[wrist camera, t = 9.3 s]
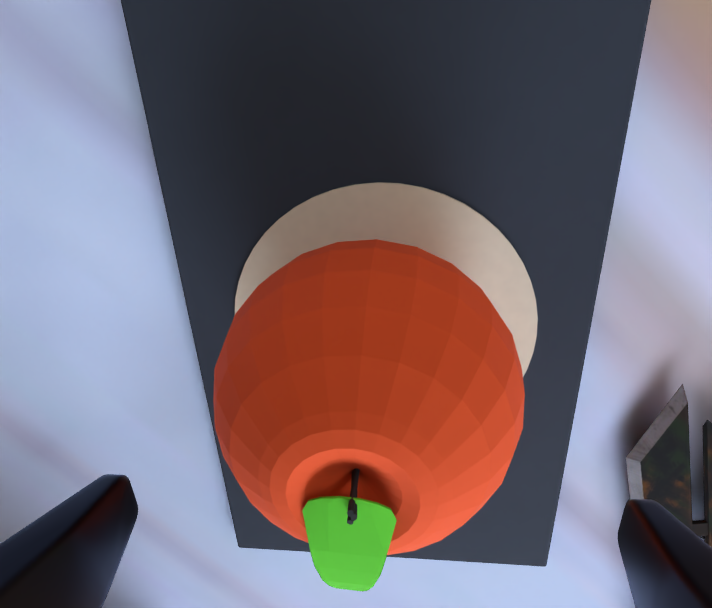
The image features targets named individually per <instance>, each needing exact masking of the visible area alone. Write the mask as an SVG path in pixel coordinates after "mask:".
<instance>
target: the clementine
mask: <svg viewBox="0 0 712 608" xmlns="http://www.w3.org/2000/svg"><path fill="white" fill-rule="evenodd" d="M524 399H525V392H524V383H523V374H522V367H521V364H520V360H519V357H518V353H517V350H516V346H515V342H514V339H513V335H512V333H511V332H510V330H509V329H508V327H507V326H506V324H505V323H504V321H503V320H502V318H501V317H500V315H499V314H498V312H497V311H496V309H495V308H494V306H493V304H492V303H491V301H490V300H489V299H488V297H487V296H486V294H485V293H484V292H483V290H482V289H481V288H480V287H479V286H478V285H477V284H476V283H475V282H473V281H472V280H471V279H470V278H469V277H467V276H466V275H465V274H464V273H463V272H462V271H460V270H459V269H458V268H457V267H456V266H454V265H453V264H452V263H450V262H448V261H446V260H444V259H442V258H439V257H437V256H435V255H433V254H431V253H429V252H427V251H424V250H422V249H420V248H418V247H415V246H410V245H405V244H399V243H394V242H389V241H383V240H378V239H374V240H359V241H343V242H336V243H333V244H330V245H327V246H324V247H321V248H318V249H315V250H312V251H309V252H306V253H303V254H301V255H299V256H298V257H296V258H295V259H293V260H292V261H291V262H289V263H288V264H286V265H285V266H283V267H282V268H280V269H279V270H277V271H276V272H274V273H273V274H272V275H270V276H269V277H268V278H267V279H266V280H264V281H263V282H262V283H261V284H259V285H258V286H257V287H256V289H255V290H254V291H253V292H252V294H251V295H250V296H249V297H248V299H247V300H246V301H245V302H244V304H243V305H242V306H241V307H240V309H239V310H238V311H237V312H236V314H235V316H234V319H233V321H232V324H231V326H230V329H229V331H228V334H227V336H226V339H225V342H224V344H223V347H222V350H221V352H220V355H219V357H218V360H217V363H216V365H215V368H214V395H213V404H214V421H215V429H216V433H217V436H218V440H219V443H220V447H221V451H222V454H223V457H224V459H225V461H226V462H227V464H228V466H229V468H230V469H231V471H232V473H233V475H234V476H235V478H236V480H237V482H238V483H239V485H240V486H241V488H242V490H243V491H244V493H245V495H246V496H247V498H248V499H249V501H250V503H251V504H252V505H253V506H255V507H256V508H257V509H258V510H259V511H260V512H261V513H262V514H263V515H264V516H265V517H266V518H267V519H268V520H269V521H270V522H271V523H273V524H274V525H276V526H277V527H279V528H281V529H282V530H284V531H285V532H287V533H288V534H290V535H292V536H293V537H295V538H297V539H299V540H302V541H304V542H307V543H309V548H310V552H311V555H312V559H313V562H314V566H315V568H316V570H317V571H318V573H319V575H320V577H321V578H322V580H323V581H324V582H325V583H327V584H328V585H329V586H332V587H334V588H339V589H348V590H356V591H367V590H369V589H370V588H372V587H373V586H374V584H375V583H376V581H377V579H378V578H379V576H380V575H381V572H382V569H383V566H384V563H385V560H386V556H387V555H392V554H398V553H404V552H410V551H415V550H417V549H420V548H423V547H425V546H428V545H430V544H433V543H436V542H438V541H441V540H442V539H444V538H445V537H447V536H448V535H450V534H451V533H452V532H454V531H455V530H457V529H458V528H460V527H461V526H463V525H464V524H465V523H466V522H467V521H468V520H469V519H470V518H471V517H472V516H474V515H475V514H476V513H477V512H478V511H479V510H480V509H481V508H482V507H483V506H484V504H485V503H486V502H487V501H488V500H489V498H490V497H491V496H492V495H493V494H494V492H495V491H496V490H497V489H498V488H499V486H500V485H501V484H502V482H503V480H504V477H505V475H506V472H507V470H508V467H509V465H510V462H511V460H512V457H513V455H514V452H515V449H516V446H517V444H518V441H519V438H520V435H521V432H522V429H523V417H524Z"/></svg>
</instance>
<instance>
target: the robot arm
mask: <svg viewBox="0 0 712 608" xmlns="http://www.w3.org/2000/svg"><path fill="white" fill-rule="evenodd" d="M137 515H138V505H137V502H136V498H135V495H134V492H133V489H132V486H131V483H130V480H129V478H128V477H126V476H125V475H113V474H107V475H103V476H101V477H100V478H98V479H97V480H95V481H94V482H92V483H91V484H89V485H88V486H86V487H85V488H83V489H82V490H80V491H79V492H77V493H76V494H74V495H73V496H71V497H70V498H68V499H67V500H65V501H64V502H62V503H61V504H59V505H58V506H56V507H55V508H53V509H52V510H50V511H49V512H47V513H46V514H44V515H43V516H41V517H40V518H38V519H37V520H35V521H34V522H32V523H31V524H29V525H28V526H26V527H25V528H23V529H22V530H20V531H19V532H17V533H16V534H14V535H13V536H11V537H10V538H8V539H7V540H5V541H4V542H3V543H1V544H0V608H102V605H103V603H104V601H105V599H106V596H107V594H108V592H109V589H110V587H111V584H112V582H113V579H114V576H115V574H116V571H117V569H118V566H119V563H120V561H121V558H122V555H123V553H124V550H125V548H126V545H127V542H128V540H129V537H130V535H131V532H132V529H133V527H134V524H135V522H136V519H137ZM618 543H619V548H620V552H621V555H622V559H623V563H624V566H625V570H626V574H627V577H628V581H629V585H630V588H631V592H632V595H633V599H634V603H635V606H636V608H712V548H711V547H710V546H709V545H708V544H707V543H706V542H704V541H703V540H702V539H701V538H700V537H698V536H697V535H696V534H695V533H694V532H692V531H691V530H690V529H689V528H688V527H687V526H685V525H684V524H683V523H682V522H681V521H679V520H678V519H677V518H676V517H675V516H674V515H672V514H671V513H670V512H669V511H668V510H666V509H665V508H664V507H663V506H662V505H660V504H659V503H658V502H656V501H654V500H647V499H630V500H628V501H627V502H626V505H625V508H624V512H623V516H622V519H621V523H620V527H619V531H618Z"/></svg>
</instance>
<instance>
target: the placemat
mask: <svg viewBox="0 0 712 608" xmlns="http://www.w3.org/2000/svg"><path fill="white" fill-rule="evenodd" d="M121 3H122V8H123V12H124V17H125V21H126V26H127V31H128V35H129V40H130V45H131V49H132V54H133V59H134V63H135V68H136V73H137V77H138V82H139V87H140V91H141V96H142V101H143V105H144V110H145V114H146V119H147V124H148V128H149V133H150V138H151V142H152V147H153V152H154V156H155V161H156V166H157V170H158V175H159V180H160V184H161V189H162V193H163V198H164V203H165V207H166V212H167V217H168V221H169V226H170V231H171V235H172V240H173V245H174V249H175V254H176V259H177V263H178V268H179V272H180V277H181V282H182V286H183V291H184V296H185V300H186V305H187V310H188V314H189V319H190V324H191V328H192V333H193V338H194V342H195V347H196V352H197V356H198V361H199V365H200V370H201V375H202V379H203V384H204V389H205V393H206V398H207V403H208V407H209V412H210V417H211V421H212V426H213V431H214V435H215V440H216V444H217V449H218V454H219V458H220V463H221V468H222V472H223V477H224V482H225V486H226V491H227V496H228V500H229V505H230V510H231V514H232V519H233V523H234V528H235V533H236V537H237V542H238V546H239V547H242V548H258V549H274V550H290V551H306V552H310V548H309V543H307V542H304V541H302V540H299V539H297V538H295V537H293V536H292V535H290V534H288V533H287V532H285V531H284V530H282V529H281V528H279V527H277V526H276V525H274V524H273V523H271V522H270V521H269V520H268V519H267V518H266V517H265V516H264V515H263V514H262V513H261V512H260V511H259V510H258V509H257V508H256V507H255V506H253V505H252V504H251V503H250V501H249V499H248V498H247V496H246V495H245V493H244V491H243V490H242V488H241V486H240V485H239V483H238V482H237V480H236V478H235V476H234V475H233V473H232V471H231V469H230V468H229V466H228V464H227V462H226V461H225V459H224V457H223V454H222V451H221V447H220V443H219V440H218V436H217V433H216V429H215V421H214V404H213V395H214V368H215V365H216V363H217V360H218V357H219V355H220V352H221V350H222V347H223V344H224V342H225V339H226V336H227V334H228V331H229V329H230V326H231V324H232V321H233V319H234V316H235V314H236V312H237V311H238V310H239V309H240V307H241V306H242V305H243V304H244V302H245V301H246V300H247V299H248V297H249V296H250V295H251V294H252V292H253V291H254V290H255V289H256V287H257V286H258V285H259V284H261V283H262V282H263V281H264V280H266V279H267V278H268V277H269V276H270V275H272V274H273V273H274V272H276V271H277V270H279V269H280V268H282V267H283V266H285V265H286V264H288V263H289V262H291V261H292V260H293V259H295V258H296V257H298V256H299V255H301V254H303V253H306V252H309V251H312V250H315V249H318V248H321V247H324V246H327V245H330V244H333V243H336V242H343V241H359V240H374V239H378V240H383V241H389V242H394V243H399V244H405V245H410V246H415V247H418V248H420V249H422V250H424V251H427V252H429V253H431V254H433V255H435V256H437V257H439V258H442V259H444V260H446V261H448V262H450V263H452V264H453V265H454V266H456V267H457V268H458V269H459V270H460V271H462V272H463V273H464V274H465V275H466V276H467V277H469V278H470V279H471V280H472V281H473V282H475V283H476V284H477V285H478V286H479V287H480V288H481V289H482V290H483V292H484V293H485V294H486V296H487V297H488V299H489V300H490V301H491V303H492V304H493V306H494V308H495V309H496V311H497V312H498V314H499V315H500V317H501V318H502V320H503V321H504V323H505V324H506V326H507V327H508V329H509V330H510V332H511V333H512V335H513V339H514V342H515V346H516V350H517V353H518V357H519V360H520V364H521V367H522V374H523V383H524V392H525V399H524V417H523V429H522V432H521V435H520V438H519V441H518V444H517V446H516V449H515V452H514V455H513V457H512V460H511V462H510V465H509V467H508V470H507V472H506V475H505V477H504V480H503V482H502V484H501V485H500V486H499V488H498V489H497V490H496V491H495V492H494V494H493V495H492V496H491V497H490V498H489V500H488V501H487V502H486V503H485V504H484V506H483V507H482V508H481V509H480V510H479V511H478V512H477V513H476V514H475V515H474V516H472V517H471V518H470V519H469V520H468V521H467V522H466V523H465V524H464V525H463V526H461V527H460V528H458V529H457V530H455V531H454V532H452V533H451V534H450V535H448V536H447V537H445V538H444V539H442V540H441V541H438V542H436V543H433V544H430V545H428V546H425V547H423V548H420V549H417V550H415V551H410V552H404V553H398V554H392V555H387V556H386V557H402V558H418V559H434V560H450V561H466V562H482V563H498V564H514V565H530V566H546V564H547V559H548V553H549V548H550V542H551V537H552V532H553V526H554V521H555V516H556V510H557V505H558V499H559V494H560V489H561V483H562V478H563V472H564V467H565V462H566V456H567V451H568V446H569V440H570V435H571V429H572V424H573V419H574V413H575V408H576V402H577V397H578V392H579V386H580V381H581V375H582V370H583V365H584V359H585V354H586V349H587V343H588V338H589V332H590V327H591V322H592V316H593V311H594V305H595V300H596V295H597V289H598V284H599V278H600V273H601V268H602V262H603V257H604V252H605V246H606V241H607V235H608V230H609V225H610V219H611V214H612V208H613V203H614V198H615V192H616V187H617V181H618V176H619V171H620V165H621V160H622V155H623V149H624V144H625V138H626V133H627V128H628V122H629V117H630V111H631V106H632V101H633V95H634V90H635V85H636V79H637V74H638V68H639V63H640V58H641V52H642V47H643V41H644V36H645V31H646V25H647V20H648V14H649V9H650V4H651V0H121Z"/></svg>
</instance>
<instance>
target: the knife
mask: <svg viewBox="0 0 712 608" xmlns="http://www.w3.org/2000/svg"><path fill="white" fill-rule="evenodd" d="M626 465H627V474H628V484H629V493H630V499H647V500H654V501H656V502H658V503H659V504H660V505H662V506H663V507H664V508H665V509H666V510H668V511H669V512H670V513H671V514H672V515H674V516H675V517H676V518H677V519H678V520H679V521H681V522H682V523H683V524H684V525H685V526H687V527H688V528H689V529H690V530H691V531H692V532H694V533H695V534H696V535H697V536H698V537H699V536H705V542H706V543H707V544H708V545H709V546H710V547H711V548H712V423H711V422H710V421H708V420H707V421H706V422H705V423H704V425H703V467H704V513H705V520H696V521H692V504H691V476H690V449H689V422H688V402H687V398H686V395H685V391H684V388H683V384H682V385H681V387H680V388H679V389H678V391H677V392H676V393H675V394H674V396H673V397H672V398H671V400H670V401H669V402H668V403H667V405H666V406H665V407H664V409H663V410H662V411H661V413H660V414H659V415H658V416H657V418H656V419H655V420H654V422H653V423H652V424H651V425H650V427H649V428H648V429H647V431H646V432H645V433H644V435H643V436H642V437H641V438H640V440H639V441H638V442H637V444H636V445H635V446H634V447H633V449H632V450H631V451H630V453H629V454H628V455H627V457H626Z"/></svg>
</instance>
